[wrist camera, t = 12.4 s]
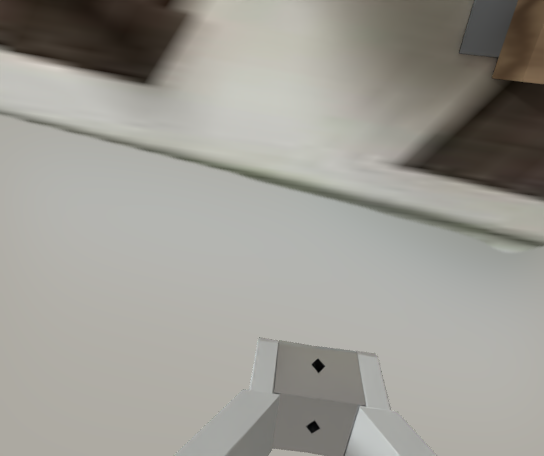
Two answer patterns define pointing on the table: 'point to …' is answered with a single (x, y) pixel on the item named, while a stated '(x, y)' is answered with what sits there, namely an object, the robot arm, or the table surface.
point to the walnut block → (523, 45)
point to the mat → (487, 27)
